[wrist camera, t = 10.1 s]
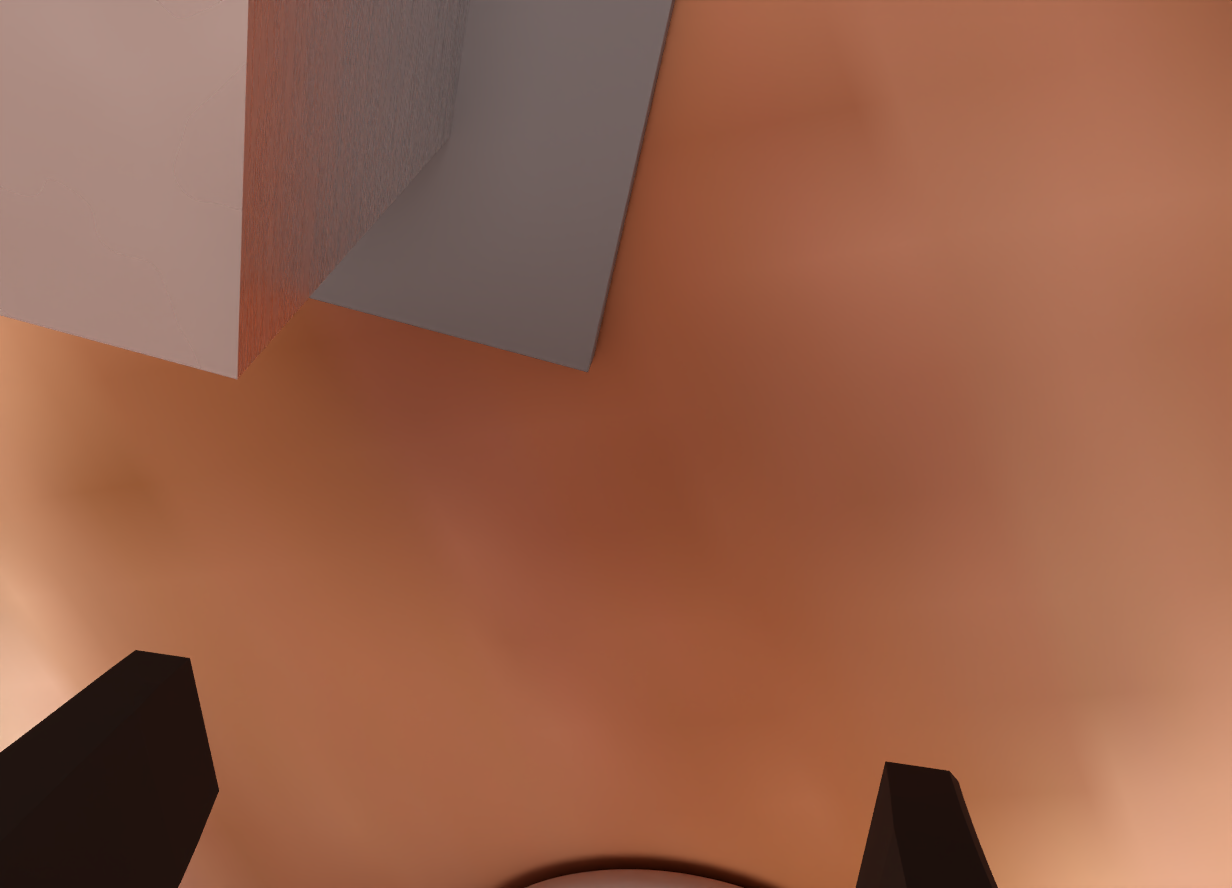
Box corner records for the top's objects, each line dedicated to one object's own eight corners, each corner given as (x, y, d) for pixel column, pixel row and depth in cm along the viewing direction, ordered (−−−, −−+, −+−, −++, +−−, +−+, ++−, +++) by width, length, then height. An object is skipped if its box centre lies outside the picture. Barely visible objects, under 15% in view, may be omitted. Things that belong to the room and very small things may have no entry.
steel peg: (486, -133, 17) (248, -14, 10) (451, 135, 19) (236, 378, 12) (216, -205, 17) (-198, -131, 10) (212, 72, 19) (-129, 280, 12)
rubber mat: (738, -275, 16) (734, -274, 15) (593, 355, 21) (587, 372, 21) (25, -456, 16) (-1, -461, 15) (67, 216, 22) (49, 228, 21)
